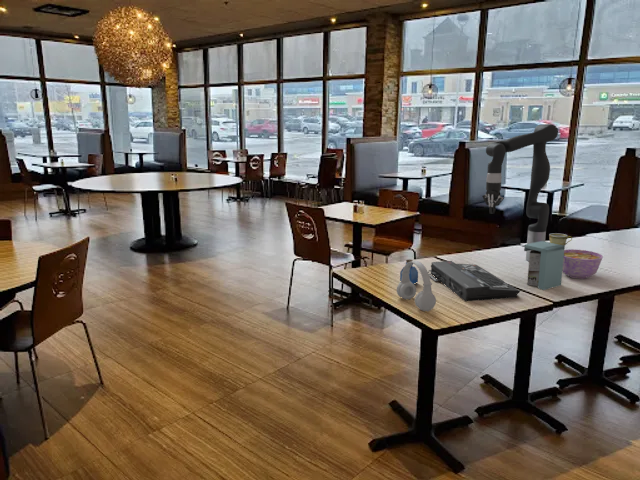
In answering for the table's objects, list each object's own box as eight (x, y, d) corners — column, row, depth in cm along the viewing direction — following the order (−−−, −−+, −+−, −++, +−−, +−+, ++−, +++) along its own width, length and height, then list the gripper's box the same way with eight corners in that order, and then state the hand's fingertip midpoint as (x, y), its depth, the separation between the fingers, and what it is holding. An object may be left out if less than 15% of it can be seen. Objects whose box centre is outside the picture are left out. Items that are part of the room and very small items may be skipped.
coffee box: (541, 286, 230) (543, 254, 227) (526, 284, 233) (529, 252, 230) (543, 281, 238) (546, 249, 234) (529, 279, 241) (532, 248, 237)
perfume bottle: (407, 281, 243) (407, 258, 240) (417, 283, 239) (418, 260, 236) (400, 283, 239) (400, 260, 236) (410, 286, 235) (410, 262, 232)
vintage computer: (521, 297, 216) (522, 280, 215) (460, 304, 212) (461, 286, 211) (476, 272, 258) (477, 257, 256) (425, 277, 254) (425, 262, 252)
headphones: (436, 310, 204) (438, 266, 199) (419, 313, 201) (420, 269, 196) (411, 295, 222) (412, 255, 218) (395, 298, 219) (396, 257, 215)
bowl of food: (550, 277, 244) (552, 255, 241) (563, 268, 258) (565, 247, 256) (594, 285, 231) (596, 261, 228) (605, 275, 245) (607, 253, 242)
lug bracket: (538, 278, 242) (542, 241, 237) (561, 285, 232) (564, 245, 227) (521, 283, 235) (524, 244, 231) (543, 290, 225) (547, 249, 221)
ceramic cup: (550, 252, 289) (551, 236, 287) (545, 248, 299) (547, 233, 297) (573, 253, 287) (575, 237, 285) (568, 249, 297) (569, 233, 295)
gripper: (508, 181, 253) (506, 214, 257) (488, 179, 265) (487, 211, 269) (499, 183, 250) (497, 215, 254) (479, 180, 261) (477, 212, 265)
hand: (492, 213), depth 261 cm, fingers closed
